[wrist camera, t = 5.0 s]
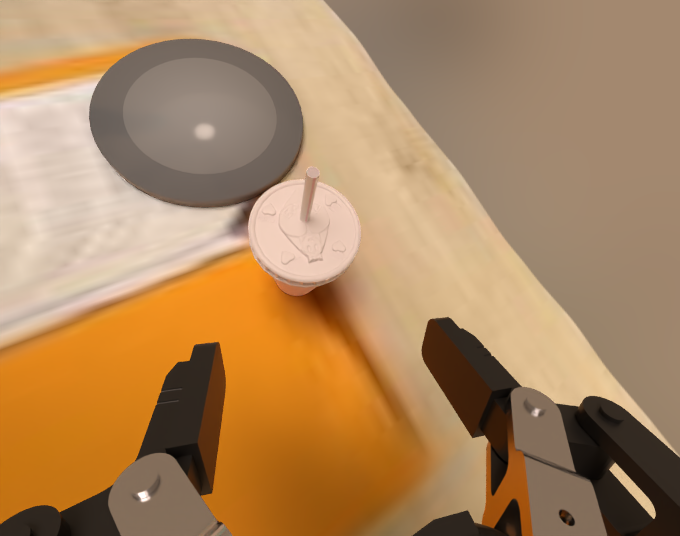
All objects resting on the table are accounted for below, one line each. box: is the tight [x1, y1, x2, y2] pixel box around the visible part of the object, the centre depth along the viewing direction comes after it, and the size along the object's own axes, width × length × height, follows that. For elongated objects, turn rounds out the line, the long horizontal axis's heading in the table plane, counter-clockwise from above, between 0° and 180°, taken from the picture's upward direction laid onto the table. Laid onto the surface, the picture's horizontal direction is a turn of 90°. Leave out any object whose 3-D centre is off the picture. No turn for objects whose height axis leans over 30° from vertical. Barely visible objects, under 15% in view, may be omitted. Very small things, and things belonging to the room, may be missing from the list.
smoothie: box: [248, 167, 361, 296], centre depth 19 cm, size 6×6×14 cm
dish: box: [89, 39, 303, 207], centre depth 28 cm, size 18×18×1 cm
